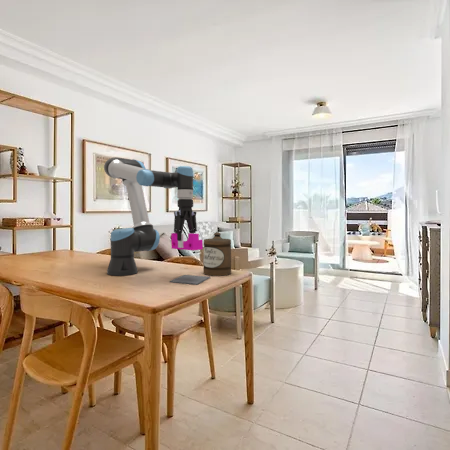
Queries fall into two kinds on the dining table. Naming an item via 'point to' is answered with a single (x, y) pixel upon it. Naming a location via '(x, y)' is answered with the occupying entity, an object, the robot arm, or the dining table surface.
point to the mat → (190, 279)
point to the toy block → (187, 242)
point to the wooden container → (217, 256)
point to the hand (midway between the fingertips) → (185, 246)
